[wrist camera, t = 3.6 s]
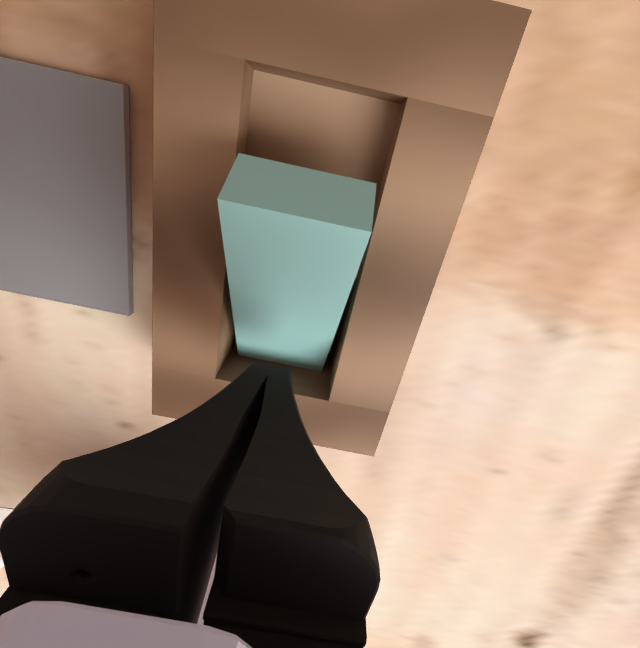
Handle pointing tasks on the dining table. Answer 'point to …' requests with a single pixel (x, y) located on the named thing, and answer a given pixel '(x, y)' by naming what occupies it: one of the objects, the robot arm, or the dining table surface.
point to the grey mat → (65, 187)
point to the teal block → (291, 256)
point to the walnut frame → (323, 155)
